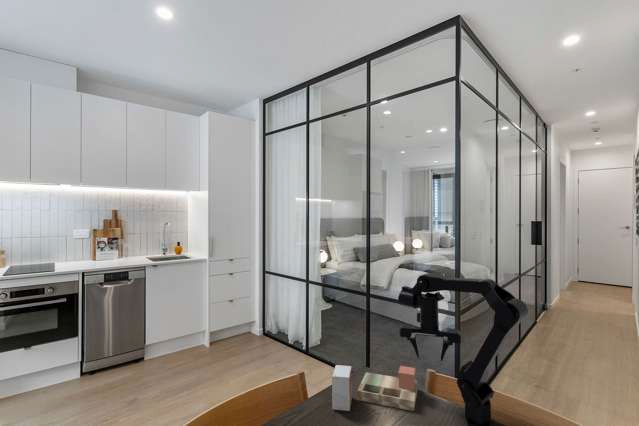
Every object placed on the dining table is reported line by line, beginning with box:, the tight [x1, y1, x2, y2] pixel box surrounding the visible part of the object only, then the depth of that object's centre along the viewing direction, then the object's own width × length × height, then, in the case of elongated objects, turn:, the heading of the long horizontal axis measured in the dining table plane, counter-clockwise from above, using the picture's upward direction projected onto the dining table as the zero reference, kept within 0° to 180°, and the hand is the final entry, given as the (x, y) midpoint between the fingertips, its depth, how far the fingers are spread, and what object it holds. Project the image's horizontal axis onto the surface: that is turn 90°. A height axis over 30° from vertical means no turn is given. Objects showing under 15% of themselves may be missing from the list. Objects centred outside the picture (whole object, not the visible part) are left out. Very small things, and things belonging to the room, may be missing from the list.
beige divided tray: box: [356, 372, 418, 412], centre depth 109 cm, size 18×13×3 cm
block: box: [398, 365, 416, 390], centre depth 109 cm, size 5×5×5 cm
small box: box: [331, 364, 353, 412], centre depth 104 cm, size 8×6×10 cm
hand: (429, 359), depth 106 cm, fingers open, 7 cm apart
